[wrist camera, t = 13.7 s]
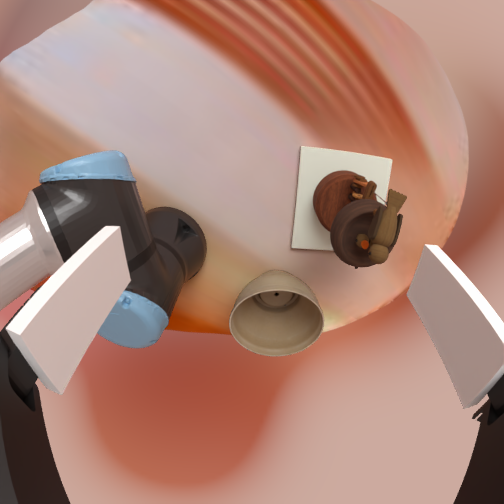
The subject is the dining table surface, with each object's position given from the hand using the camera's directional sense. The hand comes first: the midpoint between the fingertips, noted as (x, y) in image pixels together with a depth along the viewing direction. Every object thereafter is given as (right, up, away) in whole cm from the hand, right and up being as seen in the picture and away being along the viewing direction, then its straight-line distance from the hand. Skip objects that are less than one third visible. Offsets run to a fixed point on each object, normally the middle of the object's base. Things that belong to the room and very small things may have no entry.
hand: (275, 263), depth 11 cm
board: (+14, +9, +34) cm, 38 cm away
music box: (+14, +9, +33) cm, 37 cm away
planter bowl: (+4, -7, +44) cm, 44 cm away
